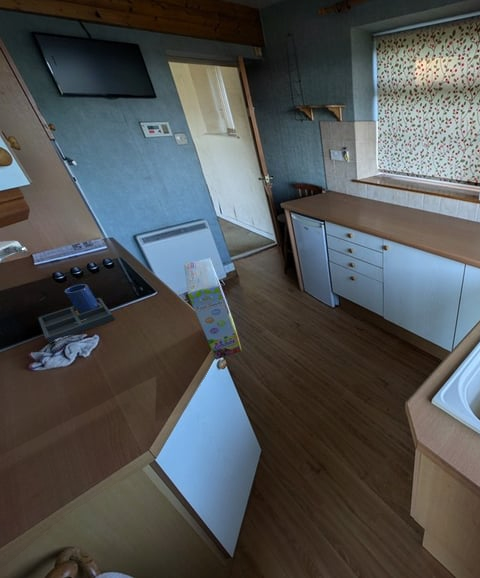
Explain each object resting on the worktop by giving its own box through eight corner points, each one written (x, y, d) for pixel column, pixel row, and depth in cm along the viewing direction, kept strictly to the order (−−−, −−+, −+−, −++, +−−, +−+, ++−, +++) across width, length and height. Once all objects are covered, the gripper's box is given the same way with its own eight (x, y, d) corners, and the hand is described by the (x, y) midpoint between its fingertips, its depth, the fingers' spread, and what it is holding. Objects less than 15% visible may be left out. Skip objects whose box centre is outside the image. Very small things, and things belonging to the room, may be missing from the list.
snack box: (206, 325, 107) (182, 262, 94) (232, 317, 111) (212, 256, 98) (213, 361, 92) (185, 292, 78) (243, 351, 96) (221, 284, 83)
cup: (81, 317, 109) (66, 294, 104) (77, 310, 113) (63, 288, 107) (102, 309, 113) (88, 287, 108) (98, 304, 117) (85, 282, 112)
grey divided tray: (49, 344, 98) (45, 338, 97) (42, 323, 107) (37, 317, 106) (115, 319, 110) (111, 314, 108) (103, 302, 119) (99, 297, 118)
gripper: (-1, 253, 107) (43, 251, 109) (-63, 281, 90) (-10, 277, 92) (-13, 237, 104) (32, 235, 106) (-80, 262, 87) (-25, 259, 89)
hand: (12, 255), depth 99 cm, fingers open, 8 cm apart
